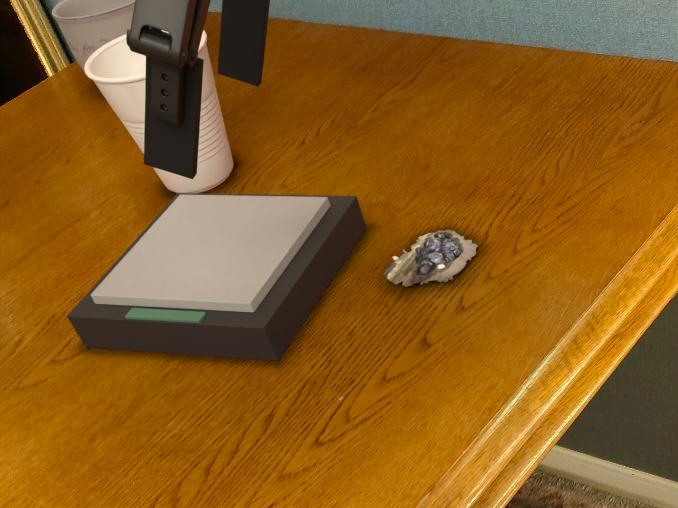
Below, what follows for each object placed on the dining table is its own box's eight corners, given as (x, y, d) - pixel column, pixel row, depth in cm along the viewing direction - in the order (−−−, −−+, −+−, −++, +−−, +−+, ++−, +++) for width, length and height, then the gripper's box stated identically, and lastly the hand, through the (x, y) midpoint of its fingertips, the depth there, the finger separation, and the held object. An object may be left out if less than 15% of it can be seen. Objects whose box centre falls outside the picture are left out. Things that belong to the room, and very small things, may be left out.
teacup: (70, 101, 103) (28, 20, 97) (121, 52, 109) (85, -26, 103) (188, 96, 99) (152, 12, 93) (233, 46, 106) (203, -35, 100)
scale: (85, 347, 73) (60, 307, 70) (191, 223, 82) (173, 183, 80) (278, 361, 68) (259, 318, 65) (366, 228, 78) (353, 185, 75)
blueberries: (380, 299, 71) (373, 276, 70) (394, 236, 76) (387, 214, 75) (474, 288, 70) (468, 265, 69) (481, 225, 75) (476, 203, 74)
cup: (146, 221, 84) (81, 92, 75) (144, 167, 90) (84, 43, 82) (261, 188, 84) (210, 56, 76) (250, 137, 91) (202, 11, 83)
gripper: (241, -246, 38) (206, 238, 53) (368, -311, 56) (315, 65, 70) (38, -323, 37) (60, 194, 52) (233, -365, 55) (208, 29, 69)
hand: (207, 120), depth 61 cm, fingers open, 13 cm apart
